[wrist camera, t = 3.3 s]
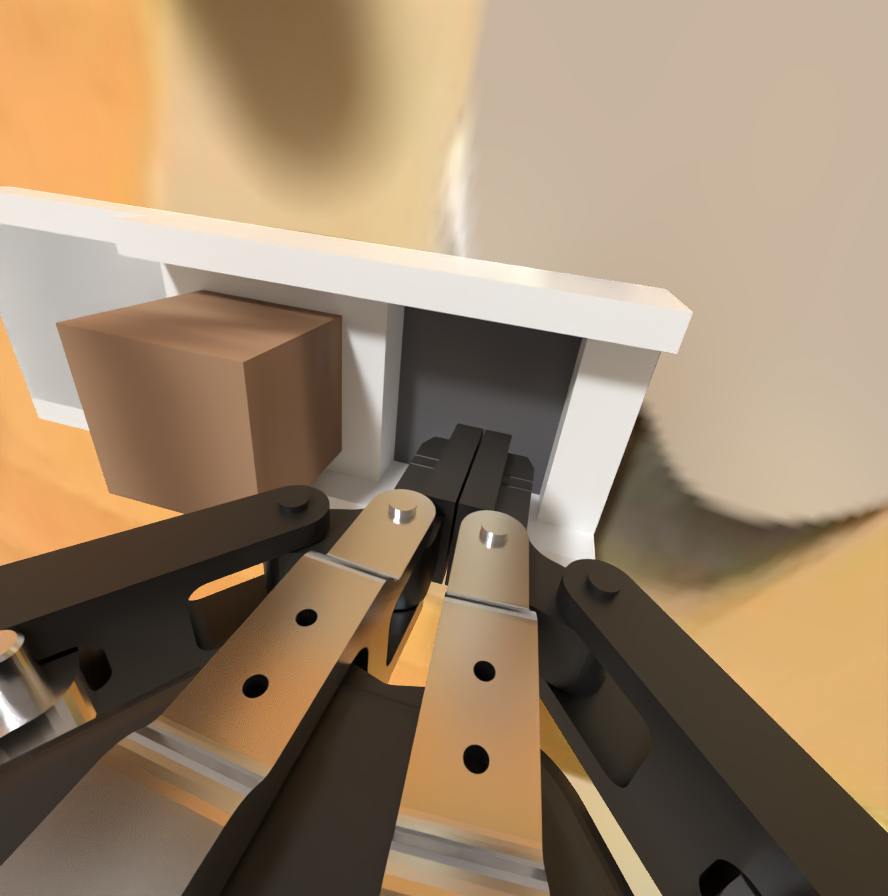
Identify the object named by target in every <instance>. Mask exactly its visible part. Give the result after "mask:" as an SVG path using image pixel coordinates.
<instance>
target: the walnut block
mask: <svg viewBox="0 0 888 896" xmlns="http://www.w3.org/2000/svg"><path fill="white" fill-rule="evenodd" d="M56 326H57V329H58V333H59V336H60V339H61V342H62V345H63V348H64V351H65V355H66V358H67V361H68V364H69V367H70V370H71V374H72V377H73V380H74V383H75V386H76V389H77V393H78V396H79V399H80V402H81V405H82V408H83V411H84V415H85V418H86V421H87V424H88V427H89V430H90V434H91V437H92V440H93V443H94V446H95V449H96V453H97V456H98V459H99V462H100V465H101V468H102V471H103V475H104V478H105V481H106V484H107V487H108V490H109V493H111V494H115V495H118V496H122V497H126V498H129V499H133V500H137V501H140V502H144V503H147V504H151V505H155V506H158V507H162V508H166V509H169V510H173V511H176V512H180V513H184V514H188V513H191V512H195V511H198V510H202V509H205V508H209V507H213V506H216V505H220V504H223V503H227V502H230V501H234V500H238V499H241V498H245V497H248V496H252V495H255V494H259V493H262V492H266V491H270V490H273V489H277V488H280V487H285V486H291V485H305V486H309V485H310V484H311V483H312V482H313V481H314V480H315V479H316V478H317V477H318V476H319V475H320V474H321V473H322V471H323V470H324V469H325V468H326V467H327V466H328V465H329V464H330V463H331V462H332V461H333V460H334V459H335V458H336V457H337V455H338V454H339V453H340V452H341V451H342V315H337V314H331V313H326V312H320V311H315V310H310V309H304V308H299V307H293V306H288V305H283V304H277V303H272V302H266V301H261V300H256V299H250V298H245V297H240V296H234V295H229V294H223V293H218V292H213V291H207V290H199V291H195V292H191V293H186V294H182V295H177V296H173V297H168V298H164V299H159V300H155V301H150V302H146V303H142V304H137V305H133V306H128V307H124V308H119V309H115V310H110V311H106V312H101V313H97V314H93V315H88V316H84V317H79V318H75V319H70V320H66V321H61V322H57V323H56Z"/></svg>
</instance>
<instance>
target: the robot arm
mask: <svg viewBox="0 0 888 896" xmlns="http://www.w3.org/2000/svg"><path fill="white" fill-rule="evenodd" d="M483 434H484V436H483ZM511 439H512V435H510V434H505V433H500V432H496V431H491V430H487V429H486V430H485V433H484V429H482V428H477V427H472V426H468V425H463V424H459V423H458V424H457V425H456V427H455V429H454V431H453V433H452V435H451V437H450V439H445V438H440V437H436V436H435V437H433V438H431V439H429V440H427V441H426V442H424V443H422V444H421V446H420V448H419V449H418V451H417V453H416V455H415V456H414V457H413V459H412V461H411V463H410V464H409V465H408V467H407V469H406V470H405V472H404V474H403V475H402V477H401V478H400V480H399V482H398V483H397V485H396V487H395V488H394V490H388V491H385V492H382V493H380V494H378V495H377V496H375V497H374V498H373V499H372V500H371V501H370V503H369V504H368V505H367V506H366V507H365V509H330V502H329V499H328V497H327V495H326V494H325V493H324V492H322V491H321V490H319V489H316V488H314V487H310V486H305V485H291V486H285V487H280V488H277V489H273V490H270V491H266V492H262V493H259V494H255V495H252V496H248V497H245V498H241V499H238V500H234V501H230V502H227V503H223V504H220V505H216V506H213V507H209V508H205V509H202V510H198V511H195V512H191V513H188V514H184V515H180V516H177V517H173V518H170V519H166V520H163V521H159V522H156V523H152V524H148V525H145V526H141V527H138V528H134V529H131V530H127V531H123V532H120V533H116V534H113V535H109V536H106V537H102V538H98V539H95V540H91V541H88V542H84V543H81V544H77V545H74V546H70V547H66V548H63V549H59V550H56V551H52V552H49V553H45V554H41V555H38V556H34V557H31V558H27V559H24V560H20V561H16V562H13V563H9V564H6V565H2V566H0V896H634V894H633V893H632V891H631V889H630V887H629V885H628V883H627V882H626V880H625V878H624V876H623V874H622V873H621V871H620V869H619V867H618V865H617V864H616V862H615V860H614V858H613V857H612V854H611V853H610V851H609V849H608V847H607V845H606V843H605V842H604V840H603V838H602V836H601V834H600V833H599V831H598V829H597V827H596V825H595V823H594V822H593V820H592V818H591V816H590V815H589V813H588V811H587V809H586V807H585V805H584V804H583V802H582V800H581V799H580V797H579V795H578V793H577V792H576V790H575V789H574V788H573V786H572V785H571V783H570V782H569V781H568V779H567V778H566V776H565V775H564V774H563V772H562V771H561V770H560V769H559V768H558V766H557V765H556V764H555V763H554V762H553V761H552V759H551V758H549V757H548V756H547V755H546V754H545V753H544V752H543V751H542V750H541V749H540V715H539V697H540V698H541V700H542V702H543V703H544V705H545V706H546V708H547V710H548V711H549V713H550V714H551V716H552V718H553V719H554V721H555V723H556V724H557V726H558V727H559V729H560V731H561V732H562V734H563V735H564V737H565V739H566V740H567V742H568V744H569V745H570V747H571V748H572V750H573V752H574V753H575V755H576V756H577V758H578V760H579V761H580V763H581V765H582V766H583V768H584V769H585V771H586V773H587V774H588V776H589V777H590V779H591V781H592V782H593V784H594V786H595V787H596V789H597V790H598V792H599V794H600V795H601V797H602V798H603V800H604V802H605V803H606V805H607V807H608V808H609V810H610V811H611V813H612V815H613V816H614V818H615V819H616V821H617V823H618V824H619V826H620V828H621V829H622V831H623V832H624V834H625V836H626V837H627V839H628V840H629V842H630V844H631V845H632V847H633V849H634V850H635V852H636V853H637V855H638V857H639V858H640V860H641V862H642V863H643V865H644V866H645V868H646V870H647V871H648V873H649V874H650V876H651V878H652V879H653V881H654V883H655V884H656V886H657V887H658V889H659V891H660V892H661V894H662V895H663V896H888V833H887V832H886V831H885V830H884V829H883V828H882V827H881V826H880V825H879V824H878V823H877V822H876V821H875V820H874V819H873V818H872V817H871V816H870V815H869V814H868V813H867V812H866V811H865V810H864V809H863V808H862V807H861V806H860V805H859V804H858V803H857V802H856V801H855V800H854V799H853V798H852V797H851V796H850V795H849V794H848V793H847V792H846V791H845V790H844V789H843V788H842V787H841V786H840V785H839V784H838V783H837V782H836V781H835V780H834V779H833V778H832V777H831V776H830V775H829V774H828V773H827V772H826V771H825V770H824V769H823V768H822V767H821V766H820V765H819V764H818V763H817V762H816V761H815V760H814V759H813V758H812V757H811V756H810V755H809V754H808V753H807V752H806V751H805V750H804V749H803V748H802V747H801V746H800V745H799V744H798V743H797V742H796V741H795V740H794V739H793V738H791V737H790V736H789V735H788V734H787V733H786V732H785V731H784V730H783V729H782V728H781V727H780V726H779V725H778V724H777V723H776V722H775V721H774V720H773V719H772V718H771V717H770V716H769V715H768V714H767V713H766V712H765V711H764V710H763V709H762V708H761V707H760V706H759V705H758V704H757V703H756V702H755V701H754V700H753V699H752V698H751V697H750V696H749V695H748V694H747V693H746V692H745V691H744V690H743V689H742V688H741V687H740V686H739V685H738V684H737V683H736V682H735V681H734V680H733V679H732V678H731V677H730V676H729V675H728V674H727V673H726V672H725V671H724V670H723V669H722V668H721V667H720V666H719V665H718V664H717V663H716V662H715V661H714V660H713V659H712V658H711V657H710V656H709V655H708V654H707V653H706V652H705V651H704V650H703V649H702V648H701V647H700V646H699V645H698V644H697V643H696V642H695V641H694V640H693V639H692V638H691V637H690V636H689V635H688V634H686V633H685V632H684V631H683V630H682V629H681V628H680V627H679V626H678V625H677V624H676V623H675V622H674V621H673V620H672V619H671V618H670V617H669V616H668V615H667V614H666V613H665V612H664V611H663V610H662V609H661V608H660V607H659V606H658V605H657V604H656V603H655V602H654V601H653V600H652V599H651V598H650V597H649V596H648V595H647V594H646V593H645V592H644V591H643V590H642V589H641V588H640V587H639V586H638V585H637V584H636V583H635V582H634V581H633V580H632V579H631V578H630V577H629V576H628V575H627V574H625V573H624V572H623V571H621V570H620V569H618V568H616V567H615V566H613V565H611V564H608V563H606V562H603V561H599V560H595V559H580V560H576V561H573V562H571V563H570V564H568V566H567V567H564V566H562V565H560V564H558V563H556V562H554V561H552V560H550V559H549V558H547V557H545V556H544V555H543V554H541V553H540V552H539V551H538V550H537V549H536V548H535V547H534V546H533V544H532V543H531V541H530V540H529V536H528V533H527V525H528V517H529V509H530V501H531V493H532V485H533V477H534V470H535V469H534V467H533V465H532V463H531V462H530V460H529V458H528V457H525V456H521V455H516V454H512V453H508V452H509V448H510V444H511ZM260 563H263V565H264V575H261V576H259V577H256V578H253V579H251V580H248V581H246V582H243V583H240V584H238V585H235V586H233V587H230V588H227V589H225V590H222V591H220V592H217V593H215V594H212V595H209V596H207V597H204V598H202V599H199V600H193V601H189V600H188V599H189V597H190V596H191V594H192V593H193V592H194V591H195V590H196V589H198V588H199V587H200V586H202V585H204V584H206V583H209V582H212V581H214V580H217V579H220V578H222V577H225V576H228V575H231V574H233V573H236V572H239V571H241V570H244V569H247V568H249V567H252V566H255V565H258V564H260ZM447 567H448V569H447ZM446 570H447V575H446V581H445V585H447V586H448V587H447V592H446V593H445V597H444V602H443V606H442V611H441V616H440V620H439V625H438V630H437V634H436V639H435V644H434V648H433V653H432V658H431V662H430V667H429V672H428V677H427V681H426V686H425V687H416V686H396V685H389V684H388V681H389V678H390V676H391V674H392V672H393V670H394V668H395V665H396V663H397V661H398V659H399V657H400V655H401V653H402V650H403V648H404V646H405V644H406V642H407V640H408V638H409V636H410V633H411V631H412V629H413V627H414V625H415V623H416V621H417V618H418V616H419V614H420V612H421V610H422V607H423V599H424V598H425V596H426V594H427V592H428V589H429V586H430V583H431V581H432V582H436V583H439V584H442V582H443V579H444V576H445V573H446Z"/></svg>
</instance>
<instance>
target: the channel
mask: <svg viewBox="0 0 888 896" xmlns="http://www.w3.org/2000/svg"><path fill="white" fill-rule="evenodd" d="M199 290H207V291H213V292H218V293H223V294H229V295H234V296H240V297H245V298H250V299H256V300H261V301H266V302H272V303H277V304H283V305H288V306H293V307H299V308H304V309H310V310H315V311H320V312H326V313H331V314H337V315H342V451H341V452H340V453H339V454H338V455H337V457H336V458H335V459H334V460H333V461H332V462H331V463H330V464H329V465H328V466H327V467H326V468H325V469H324V470H323V471H322V473H321V474H320V475H319V476H318V477H317V478H316V479H315V480H314V481H313V482H312V483H311V484H310V485H309V486H310V487H314V488H316V489H319V490H321V491H322V492H324V493H325V494H326V495H327V497H328V499H329V502H330V509H365V507H366V506H367V505H368V504H369V503H370V501H371V500H372V499H373V498H374V497H375V496H377V495H378V494H380V493H382V492H385V491H388V490H394V488H395V487H396V485H397V483H398V482H399V480H400V478H401V477H402V475H403V474H404V472H405V470H406V469H407V467H408V465H409V464H410V463H411V461H412V459H413V457H414V456H415V455H416V453H417V451H418V449H419V448H420V446H421V444H422V443H424V442H426V441H427V440H429V439H431V438H433V437H435V436H436V437H440V438H445V439H450V437H451V435H452V433H453V431H454V429H455V427H456V425H457V424H458V423H459V424H463V425H468V426H472V427H477V428H482V429H484V433H485V430H486V429H487V430H491V431H496V432H500V433H505V434H510V435H512V439H511V444H510V448H509V452H508V453H512V454H516V455H521V456H525V457H528V458H529V460H530V462H531V463H532V465H533V467H534V469H535V470H534V477H533V485H532V493H531V501H530V509H529V517H528V525H527V533H528V536H529V540H530V541H531V543H532V544H533V546H534V547H535V548H536V549H537V550H538V551H539V552H540V553H541V554H543V555H544V556H545V557H547V558H549V559H550V560H552V561H554V562H556V563H558V564H560V565H562V566H564V567H567V566H568V564H570V563H571V562H573V561H576V560H580V559H595V548H594V532H595V530H596V527H597V524H598V522H599V519H600V516H601V513H602V511H603V508H604V505H605V503H606V500H607V497H608V494H609V492H610V489H611V486H612V484H613V481H614V478H615V475H616V473H617V470H618V467H619V464H620V462H621V459H622V456H623V454H624V451H625V448H626V445H627V443H628V440H629V437H630V435H631V432H632V429H633V426H634V424H635V421H636V418H637V416H638V413H639V410H640V407H641V405H642V402H643V399H644V396H645V394H646V391H647V388H648V385H649V383H650V380H651V377H652V375H653V372H654V369H655V367H656V364H657V361H658V358H659V355H660V353H661V351H663V352H669V353H675V354H677V353H678V350H679V348H680V345H681V342H682V339H683V337H684V335H685V332H686V329H687V327H688V324H689V322H690V319H691V316H692V314H693V312H692V311H690V310H689V309H688V308H687V307H686V306H685V305H684V304H682V303H681V302H680V301H679V300H678V299H677V298H675V297H674V296H673V295H672V294H671V293H670V292H669V291H667V290H666V289H662V288H656V287H649V286H644V285H637V284H631V283H624V282H618V281H612V280H605V279H599V278H592V277H586V276H580V275H573V274H567V273H561V272H554V271H548V270H540V269H535V268H528V267H522V266H515V265H509V264H503V263H497V262H490V261H484V260H478V259H471V258H465V257H458V256H452V255H446V254H439V253H433V252H426V251H420V250H414V249H407V248H401V247H394V246H388V245H382V244H375V243H369V242H363V241H356V240H350V239H343V238H337V237H331V236H324V235H318V234H311V233H305V232H299V231H292V230H286V229H280V228H273V227H267V226H260V225H254V224H248V223H241V222H235V221H228V220H222V219H216V218H209V217H203V216H196V215H190V214H184V213H177V212H171V211H165V210H158V209H152V208H145V207H139V206H133V205H126V204H120V203H113V202H107V201H101V200H94V199H88V198H82V197H75V196H69V195H62V194H56V193H50V192H43V191H37V190H30V189H24V188H18V187H4V186H0V315H1V318H2V321H3V323H4V326H5V329H6V331H7V334H8V337H9V339H10V342H11V345H12V347H13V350H14V353H15V355H16V358H17V361H18V363H19V366H20V369H21V371H22V374H23V377H24V379H25V382H26V385H27V387H28V390H29V393H30V395H31V398H32V401H33V403H34V406H35V409H36V411H37V414H38V417H39V418H41V419H45V420H49V421H53V422H57V423H61V424H65V425H69V426H73V427H77V428H80V429H84V430H88V431H90V430H89V427H88V424H87V421H86V418H85V415H84V411H83V408H82V405H81V402H80V399H79V396H78V393H77V389H76V386H75V383H74V380H73V377H72V374H71V370H70V367H69V364H68V361H67V358H66V355H65V351H64V348H63V345H62V342H61V339H60V336H59V333H58V329H57V326H56V323H57V322H61V321H66V320H70V319H75V318H79V317H84V316H88V315H93V314H97V313H101V312H106V311H110V310H115V309H119V308H124V307H128V306H133V305H137V304H142V303H146V302H150V301H155V300H159V299H164V298H168V297H173V296H177V295H182V294H186V293H191V292H195V291H199ZM483 436H484V434H483Z"/></svg>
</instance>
